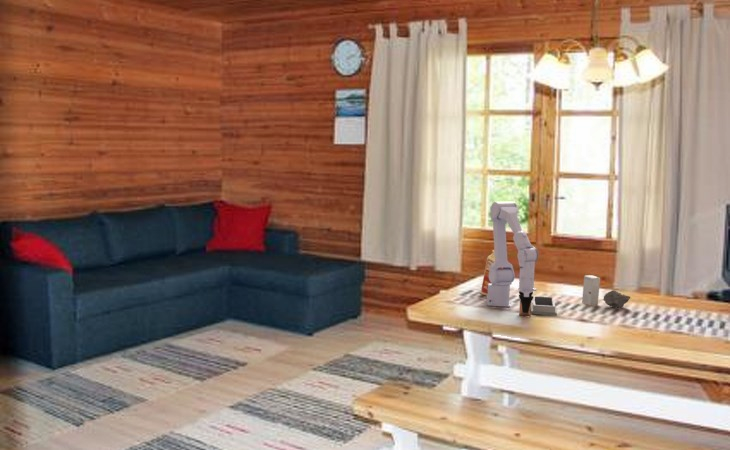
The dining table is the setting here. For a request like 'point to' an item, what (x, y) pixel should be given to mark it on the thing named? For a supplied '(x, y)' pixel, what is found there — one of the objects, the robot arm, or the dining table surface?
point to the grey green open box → (543, 306)
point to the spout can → (522, 311)
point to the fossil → (615, 299)
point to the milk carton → (486, 274)
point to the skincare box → (591, 290)
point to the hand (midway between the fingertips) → (525, 310)
